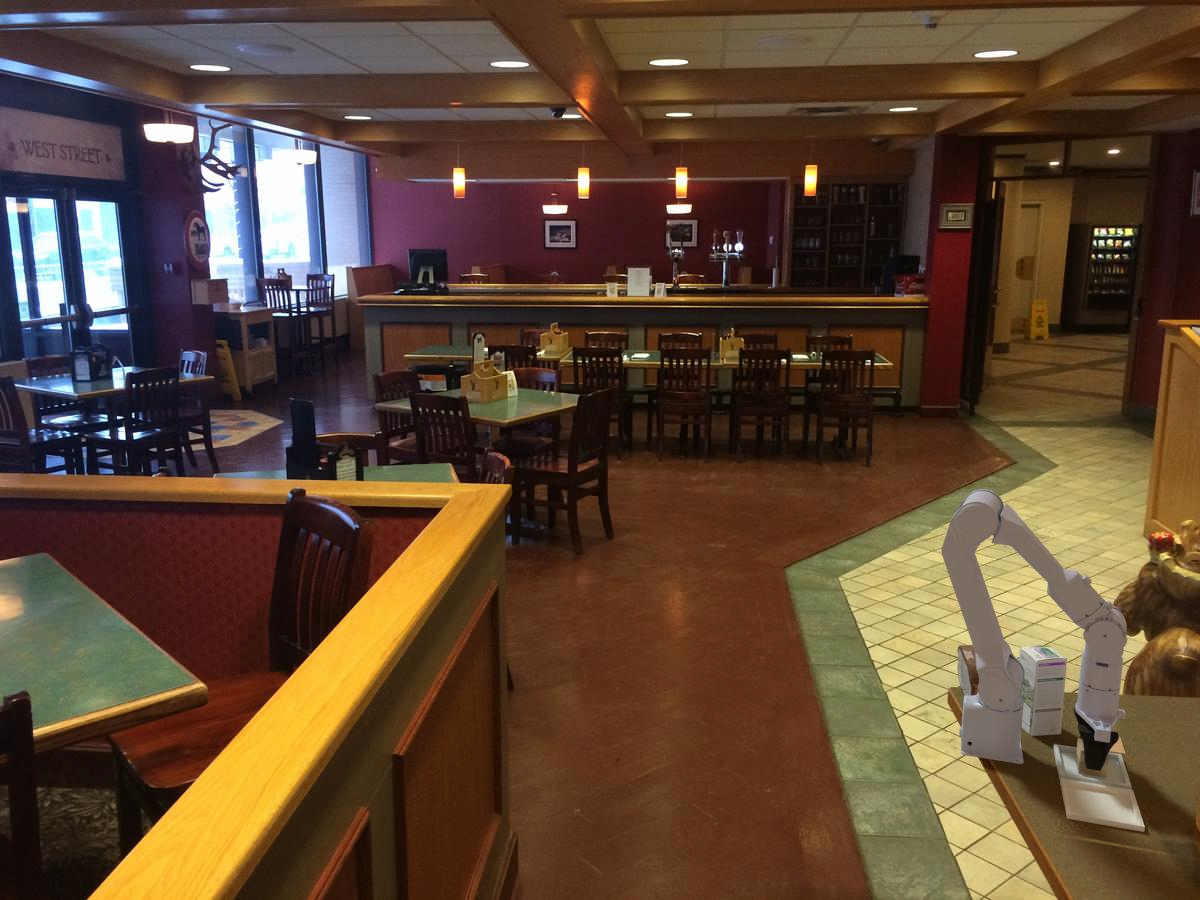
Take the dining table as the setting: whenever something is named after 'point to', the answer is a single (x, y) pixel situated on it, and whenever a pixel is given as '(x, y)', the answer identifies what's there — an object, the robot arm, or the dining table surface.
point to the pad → (1118, 747)
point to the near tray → (1101, 804)
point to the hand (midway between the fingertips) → (1091, 761)
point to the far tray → (1069, 771)
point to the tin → (967, 670)
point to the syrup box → (1042, 689)
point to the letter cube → (1082, 766)
